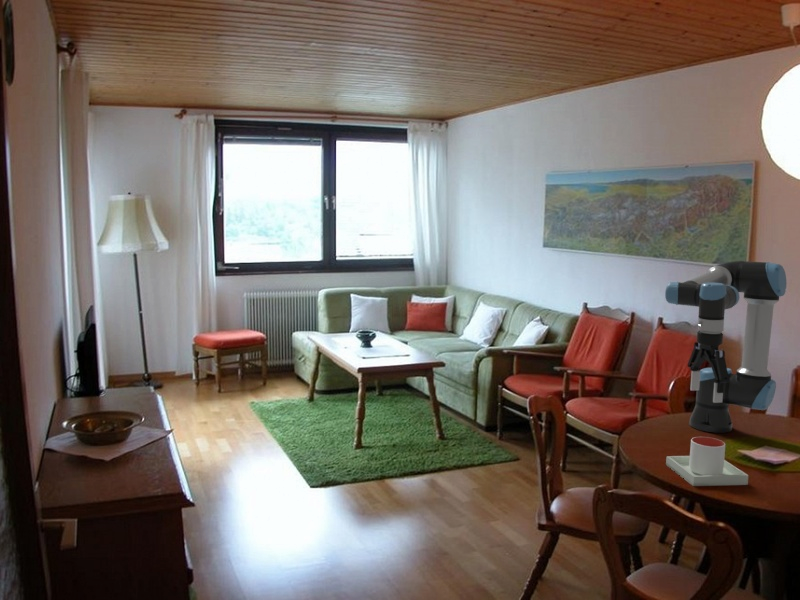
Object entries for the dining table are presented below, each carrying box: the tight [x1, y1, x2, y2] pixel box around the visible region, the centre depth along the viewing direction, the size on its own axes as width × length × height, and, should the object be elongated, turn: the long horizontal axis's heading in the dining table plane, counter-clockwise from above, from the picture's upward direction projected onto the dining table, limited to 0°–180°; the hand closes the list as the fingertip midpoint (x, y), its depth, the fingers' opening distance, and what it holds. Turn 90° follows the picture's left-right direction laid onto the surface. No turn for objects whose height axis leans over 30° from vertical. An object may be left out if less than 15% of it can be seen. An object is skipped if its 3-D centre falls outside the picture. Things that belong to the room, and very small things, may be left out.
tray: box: [665, 455, 749, 487], centre depth 226 cm, size 18×18×3 cm
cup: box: [689, 436, 726, 476], centre depth 226 cm, size 10×10×10 cm
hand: (705, 396), depth 230 cm, fingers open, 13 cm apart
